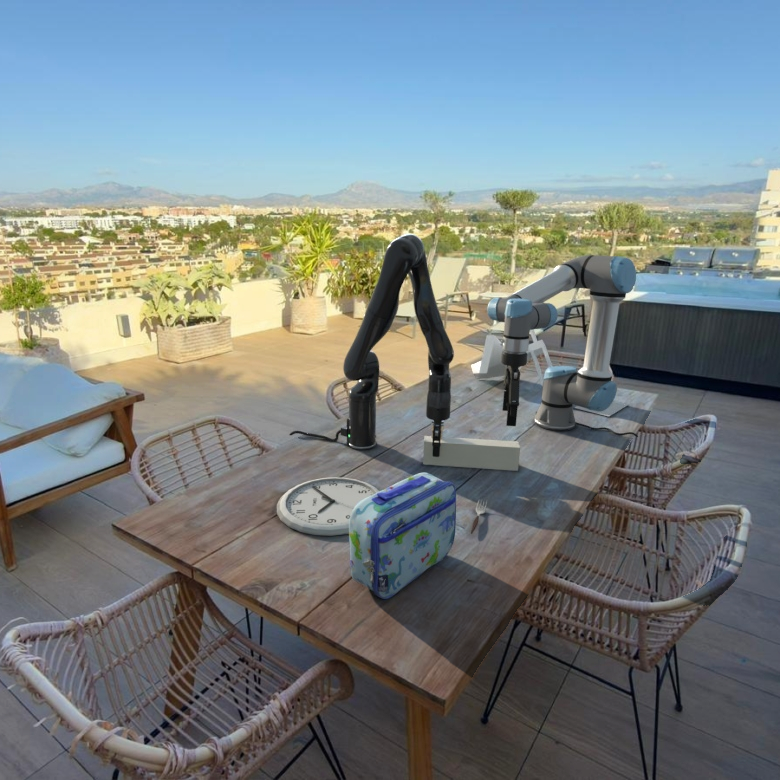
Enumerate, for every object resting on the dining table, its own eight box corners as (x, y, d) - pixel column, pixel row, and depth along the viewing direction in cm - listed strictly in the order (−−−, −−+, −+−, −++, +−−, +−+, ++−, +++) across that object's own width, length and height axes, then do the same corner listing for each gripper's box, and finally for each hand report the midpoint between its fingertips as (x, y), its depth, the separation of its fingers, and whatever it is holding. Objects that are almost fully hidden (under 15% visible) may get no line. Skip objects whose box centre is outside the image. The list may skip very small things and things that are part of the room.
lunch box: (377, 612, 103) (378, 518, 97) (342, 586, 111) (341, 497, 104) (459, 557, 121) (465, 475, 115) (425, 538, 128) (428, 460, 122)
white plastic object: (492, 421, 263) (472, 398, 238) (473, 348, 285) (453, 320, 260) (564, 397, 251) (551, 370, 226) (538, 322, 273) (524, 290, 248)
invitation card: (608, 416, 214) (573, 407, 224) (608, 416, 214) (573, 408, 224) (628, 404, 229) (594, 396, 238) (628, 405, 229) (594, 397, 238)
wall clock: (392, 527, 129) (268, 531, 127) (391, 533, 130) (269, 537, 127) (383, 473, 158) (282, 475, 155) (383, 478, 158) (282, 480, 156)
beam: (516, 464, 170) (518, 441, 167) (517, 470, 165) (520, 447, 163) (423, 458, 173) (424, 435, 171) (423, 464, 168) (423, 441, 166)
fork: (465, 534, 130) (466, 527, 129) (478, 504, 144) (478, 498, 144) (476, 536, 129) (476, 529, 128) (487, 506, 143) (488, 499, 143)
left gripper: (427, 395, 171) (425, 443, 176) (425, 410, 158) (423, 461, 163) (450, 396, 171) (448, 444, 176) (450, 411, 157) (447, 463, 162)
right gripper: (498, 342, 169) (493, 404, 175) (505, 360, 145) (499, 431, 151) (522, 343, 168) (516, 405, 174) (533, 362, 144) (526, 433, 151)
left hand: (436, 452), depth 169 cm, fingers closed on beam, 5 cm apart
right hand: (508, 417), depth 163 cm, fingers open, 13 cm apart
